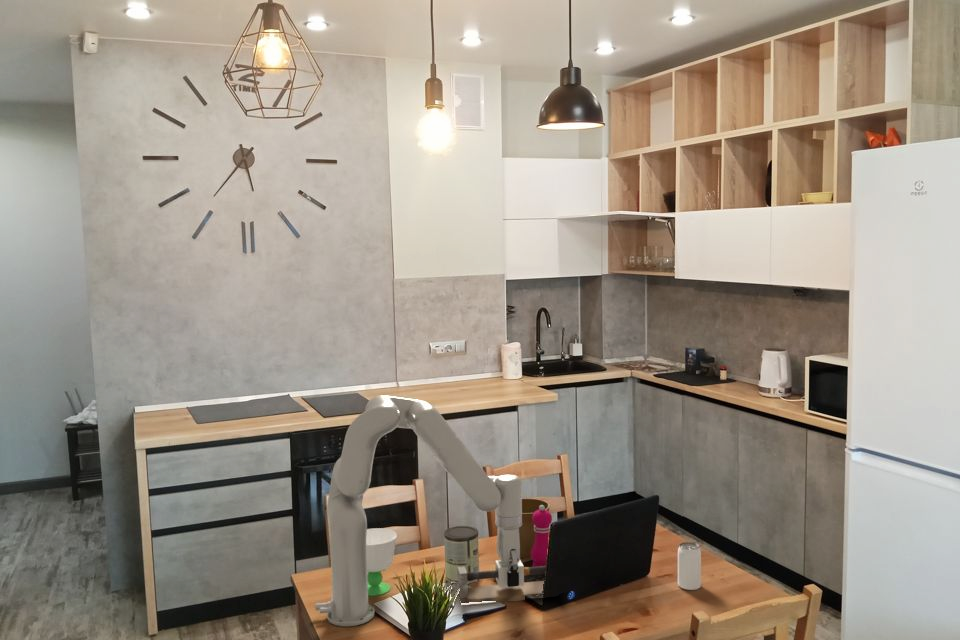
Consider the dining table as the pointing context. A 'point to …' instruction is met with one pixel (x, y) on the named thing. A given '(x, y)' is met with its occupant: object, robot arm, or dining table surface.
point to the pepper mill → (540, 536)
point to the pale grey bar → (497, 586)
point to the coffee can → (461, 551)
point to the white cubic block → (503, 573)
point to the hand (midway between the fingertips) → (509, 579)
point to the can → (689, 566)
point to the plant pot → (529, 525)
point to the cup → (379, 558)
